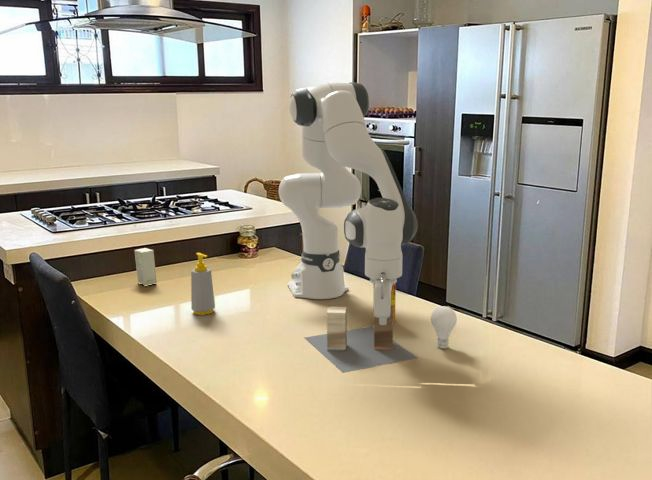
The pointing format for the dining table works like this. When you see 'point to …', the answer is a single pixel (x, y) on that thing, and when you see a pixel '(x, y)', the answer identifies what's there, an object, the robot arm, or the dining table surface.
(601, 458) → the dining table surface
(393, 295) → the beer can
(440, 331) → the lightbulb
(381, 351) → the rubber mat
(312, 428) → the dining table surface
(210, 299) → the soap bottle
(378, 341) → the walnut block
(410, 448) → the dining table surface
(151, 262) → the skincare box
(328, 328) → the maple block
